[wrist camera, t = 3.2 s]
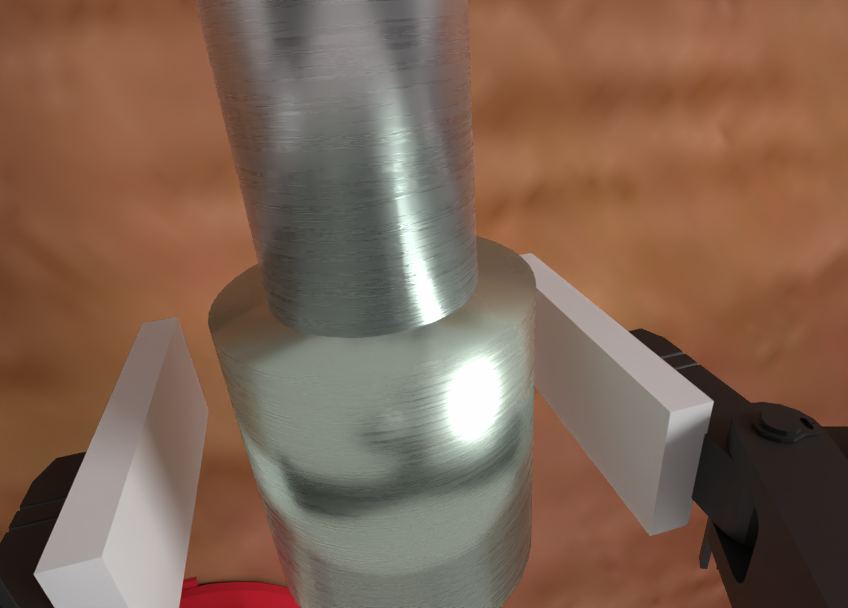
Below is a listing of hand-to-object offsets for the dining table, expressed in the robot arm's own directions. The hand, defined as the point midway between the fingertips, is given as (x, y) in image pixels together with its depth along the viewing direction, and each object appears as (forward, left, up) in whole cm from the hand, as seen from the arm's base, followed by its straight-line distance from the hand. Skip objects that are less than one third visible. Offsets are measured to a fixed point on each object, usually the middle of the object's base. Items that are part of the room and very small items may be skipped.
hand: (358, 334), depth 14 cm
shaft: (-10, 0, +2) cm, 10 cm away
